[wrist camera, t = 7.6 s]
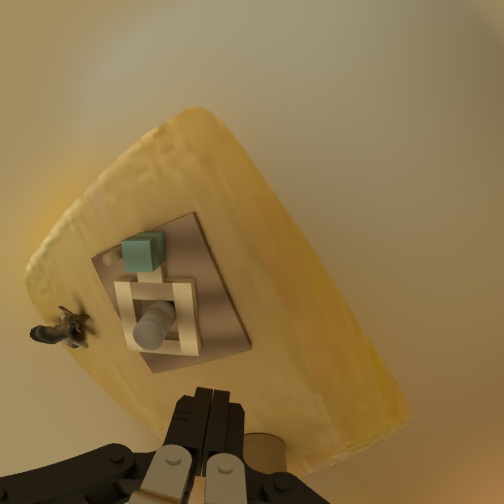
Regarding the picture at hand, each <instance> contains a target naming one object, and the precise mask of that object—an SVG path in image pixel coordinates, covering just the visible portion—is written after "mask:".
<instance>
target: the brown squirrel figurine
mask: <svg viewBox="0 0 504 504" xmlns="http://www.w3.org/2000/svg"><path fill="white" fill-rule="evenodd" d="M58 308H59V309H61V310H62V311H63V314H62V315H61V316H62V318H61V319H62V322H61V324H60V325H59V326H57V327H51V326H47V327H45V326H41V325H39V326H37V327H34V328H33V329H31V332H30V337H31V338H32V339H33V340H35V341H38V342H43V343H46V344H56V343H57V342H59V341H61V340H62V342H63V343H65V344H66V345H68V346H70V347H72V348H77V347H80V346H81V347H83V348H88V344H87V343H86V342H84V341H82V340H80V339H79V338H78V337H77V334H78V332H81V330H80V327H81V325H82V326H83V327H84V328H85V329H87V326H85V325H84V323H83V322H84V321H85V320H86V319H88V318H89V316H83V315H79V316H78V315H75V314H73V313H71V312H70V311H69V310H67V309H66V308H65V307H63V306H58ZM66 313H67V314H68V316H69V317H67V315H66Z"/></svg>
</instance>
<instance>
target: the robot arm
mask: <svg viewBox="0 0 504 504" xmlns="http://www.w3.org/2000/svg"><path fill="white" fill-rule="evenodd" d="M212 395H213V399H212ZM229 396H230V392H229V391H222V390H215V389H214V393H213V389H208V388H202V387H197V388H196V392H195V396H194V397H191V396H186V395H184V396H183V397H182V398H181V399H180V400H178V401H177V404H176V407H175V410H174V413H173V416H172V419H171V422H170V426H169V429H168V432H167V435H166V438H165V441H164V444H163V445H162V447H161V448H159V449H158V450H156V451H154V452H150V453H132V451H131V450H130V449H129V448H128V447H126V446H124V445H121V444H116V443H112V444H108V445H105V446H103V447H100V448H98V449H95V450H92V451H90V452H87V453H84V454H82V455H79V456H76V457H73V458H70V459H67V460H64V461H61V462H58V463H55V464H52V465H48V466H45V467H41V468H38V469H34V470H30V471H27V472H23V473H18V474H14V475H9V476H5V477H0V504H124V503H126V502H128V504H188V502H189V499H190V495H191V492H192V488H193V485H194V479H195V476H201V469H202V464H203V470H202V477H206V480H205V495H204V504H330V503H329V502H327V501H326V500H325V499H323V498H322V497H321V496H319V495H318V494H317V493H316V492H314V491H313V490H312V489H310V488H309V487H308V486H307V485H305V484H304V483H303V482H302V481H301V480H299V479H298V478H297V477H296V476H294V475H293V474H291V473H288V472H287V465H286V455H285V446H284V443H283V441H282V440H280V439H279V438H277V437H275V436H272V435H267V434H249V435H244V417H245V412H244V410H243V408H242V406H241V404H238V403H230V402H229Z"/></svg>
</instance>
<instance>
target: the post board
mask: <svg viewBox="0 0 504 504" xmlns="http://www.w3.org/2000/svg"><path fill="white" fill-rule="evenodd" d="M149 232H164V237H165V249H166V270H167V277H194V278H195V290H196V301H197V312H198V322H199V331H200V340H201V351H200V354H199V356H187V355H173V354H160V353H150V352H140V351H139V352H140V354H141V355H142V357H143V359H144V360H145V362H146V363H147V365H148V366H149V368H150V369H151V371H152V372H153V374H154V373H159V372H164V371H168V370H173V369H178V368H182V367H186V366H191V365H195V364H199V363H203V362H207V361H211V360H215V359H219V358H222V357H226V356H230V355H233V354H237V353H240V352H244V351H247V350H251V342H250V340H249V338H248V335H247V333H246V331H245V329H244V327H243V324H242V322H241V320H240V318H239V315H238V313H237V311H236V309H235V306H234V304H233V302H232V300H231V297H230V295H229V293H228V290H227V288H226V286H225V283H224V281H223V279H222V276H221V274H220V272H219V269H218V267H217V265H216V262H215V260H214V258H213V255H212V253H211V250H210V248H209V246H208V243H207V241H206V238H205V236H204V233H203V231H202V228H201V226H200V224H199V221H198V219H197V216H196V214H195V212H193V213H191V214H188V215H186V216H184V217H181V218H179V219H176V220H174V221H172V222H169V223H167V224H165V225H162V226H160V227H158V228H155V229H153V230H151V231H149ZM120 246H122V245H121V244H120V245H118V246H116V247H114V248H112V249H110V250H107V251H105V252H103V253H101V254H99V255H97V256H95V257H93V258H91V260H92V262H93V265H94V267H95V269H96V271H97V273H98V276H99V278H100V280H101V282H102V284H103V286H104V288H105V290H106V292H107V294H108V296H109V298H110V300H111V302H112V304H113V306H114V308H115V310H116V312H117V314H118V316H119V317H120V312H119V307H118V302H117V296H116V291H115V285H114V281H115V280H116V279H118V278H119V277H120V276H131V277H137V272H125V270H124V262H123V258H121V259H120V260H118V261H116V262H115V263H113V264H112V265H110V266H107V265H105V264H104V263H103V256H104V255H105V254H107V253H109V252H111V251H113V250H114V249H116V248H118V247H120ZM139 302H140V308H141V314H142V318H141V319H140V320H139V322H138V323H137V324H136V326H135V327H134V329H133V338H134V340H135V342H136V343H137V344H138V345H139V346H140V347H142V348H143V349H146V350H151V351H152V350H157V349H158V348H159V347H160V346H161V345H162V343H163V341H164V339H165V337H166V335H167V333H168V332H173V333H179V332H178V325H177V318H176V311H175V303H174V301H164V300H141V299H139ZM120 319H121V317H120Z"/></svg>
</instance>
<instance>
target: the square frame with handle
mask: <svg viewBox="0 0 504 504" xmlns="http://www.w3.org/2000/svg"><path fill="white" fill-rule="evenodd" d="M121 245H122V254H123V262H124V270H125V272H137V277H131V276H120V277H119V278H118V279H116V280H115V281H114V285H115V291H116V296H117V302H118V307H119V312H120V317H121V321H122V326H123V330H124V334H125V339H126V343H127V347H128V350H131V351H140V352H150V353H160V354H173V355H187V356H199V354H200V351H201V340H200V331H199V322H198V312H197V301H196V290H195V278H194V277H167V270H166V249H165V237H164V232H146V233H137V234H135V235H133V236H131V237H129V238H127V239H125V240H123V241H121ZM139 299H141V300H164V301H174V303H175V311H176V318H177V325H178V332H179V333H173V332H168V333H167V335H166V337H165V339H164V341H163V343H162V345H161V346H160V347H159V348H158V349H157V350H152V351H151V350H146V349H143V348H142V347H140V346H139V345H138V344H137V343H136V342H135V340H134V338H133V329H134V327H135V326H136V324H137V323H138V322H139V320H140V319H141V318H142V314H141V308H140V302H139Z"/></svg>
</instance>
